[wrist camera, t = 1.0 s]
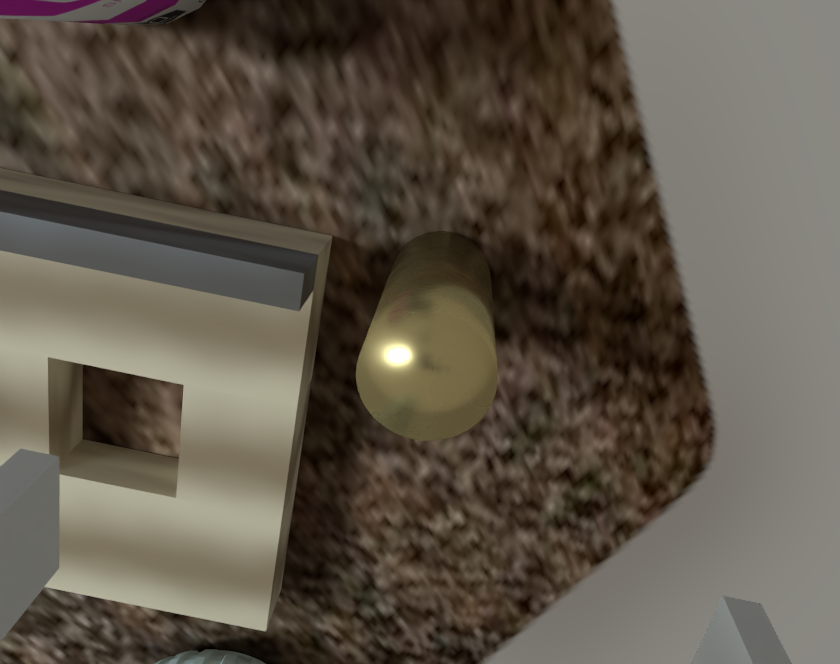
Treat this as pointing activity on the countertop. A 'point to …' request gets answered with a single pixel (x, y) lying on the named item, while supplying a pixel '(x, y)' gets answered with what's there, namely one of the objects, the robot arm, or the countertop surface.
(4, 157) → the countertop surface
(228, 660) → the vase
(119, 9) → the supplement can
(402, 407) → the brass cylinder
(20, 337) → the jig
